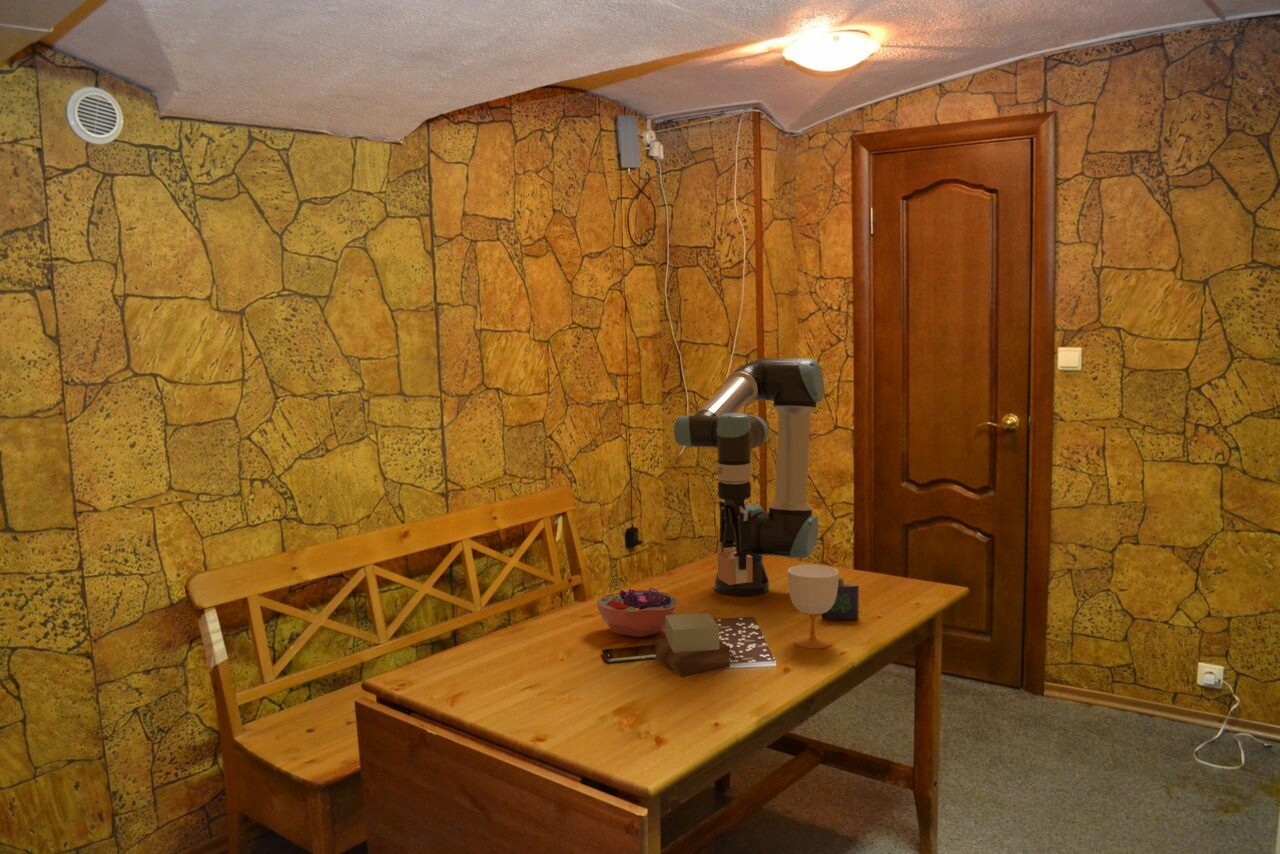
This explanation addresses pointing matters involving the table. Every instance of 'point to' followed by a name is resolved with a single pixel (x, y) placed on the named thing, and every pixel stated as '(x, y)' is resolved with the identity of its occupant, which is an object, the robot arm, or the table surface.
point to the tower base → (692, 659)
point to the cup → (813, 597)
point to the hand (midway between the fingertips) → (735, 578)
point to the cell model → (636, 611)
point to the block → (732, 568)
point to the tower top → (692, 632)
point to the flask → (844, 603)
